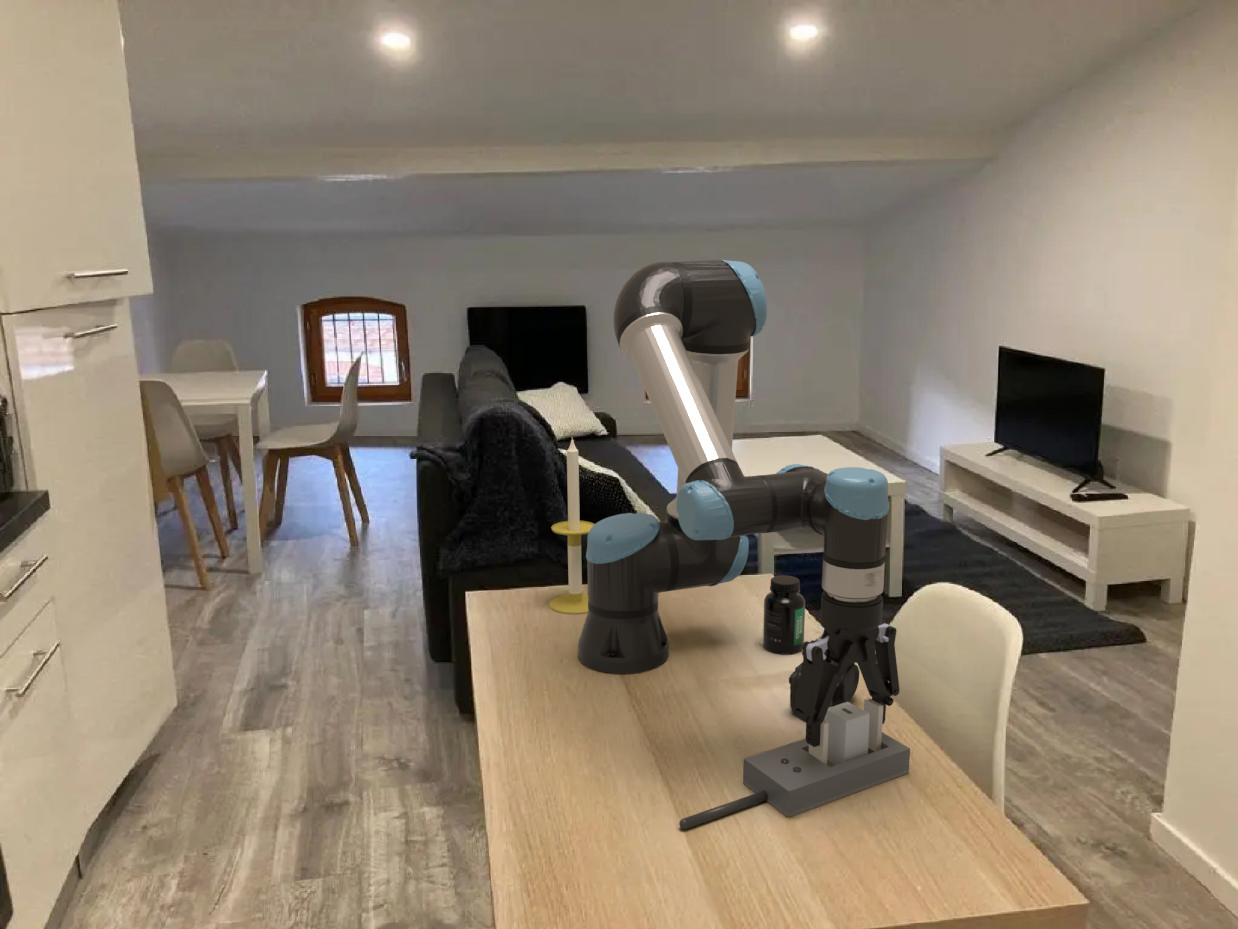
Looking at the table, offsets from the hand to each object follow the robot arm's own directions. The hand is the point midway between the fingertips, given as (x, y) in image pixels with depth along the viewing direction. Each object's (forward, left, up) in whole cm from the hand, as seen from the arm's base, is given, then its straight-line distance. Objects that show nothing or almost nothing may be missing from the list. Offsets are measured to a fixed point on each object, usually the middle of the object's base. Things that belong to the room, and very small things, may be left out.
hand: (844, 756), depth 131 cm
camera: (-17, +11, -2) cm, 20 cm away
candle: (-72, -2, -2) cm, 72 cm away
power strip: (0, -9, -2) cm, 10 cm away
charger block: (0, 0, -2) cm, 2 cm away
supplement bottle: (-36, +19, -2) cm, 41 cm away
